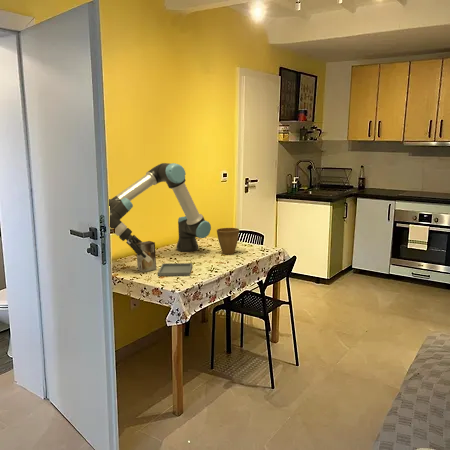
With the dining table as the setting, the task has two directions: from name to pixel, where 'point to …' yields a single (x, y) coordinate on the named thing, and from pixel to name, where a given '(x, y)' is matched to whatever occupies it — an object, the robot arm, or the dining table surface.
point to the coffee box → (150, 251)
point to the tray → (175, 269)
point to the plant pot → (228, 239)
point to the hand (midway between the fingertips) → (151, 258)
